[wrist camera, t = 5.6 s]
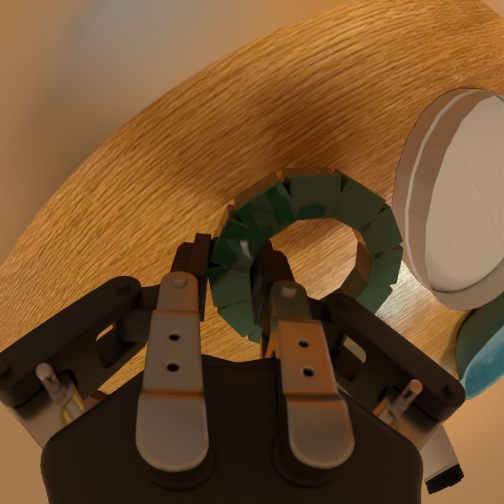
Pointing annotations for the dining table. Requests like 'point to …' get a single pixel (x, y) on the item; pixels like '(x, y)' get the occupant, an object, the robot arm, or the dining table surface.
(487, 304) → the casserole dish
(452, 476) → the travel mug
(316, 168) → the green segmented ring
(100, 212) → the dining table surface
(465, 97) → the dish
